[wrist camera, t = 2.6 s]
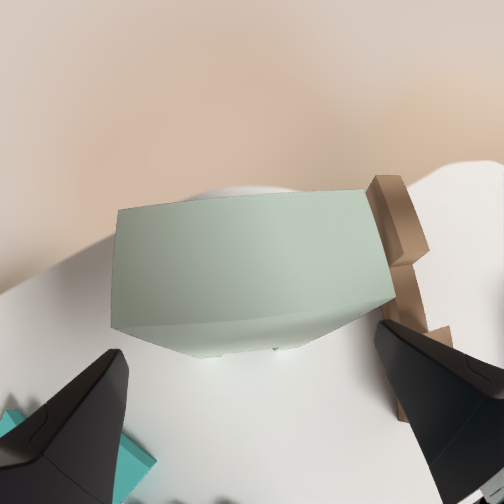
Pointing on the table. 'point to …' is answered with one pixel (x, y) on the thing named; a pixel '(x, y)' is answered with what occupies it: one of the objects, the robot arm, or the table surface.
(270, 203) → the sage slab
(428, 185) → the table surface
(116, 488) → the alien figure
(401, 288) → the brown wooden stepped piece
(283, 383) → the table surface
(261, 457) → the table surface
